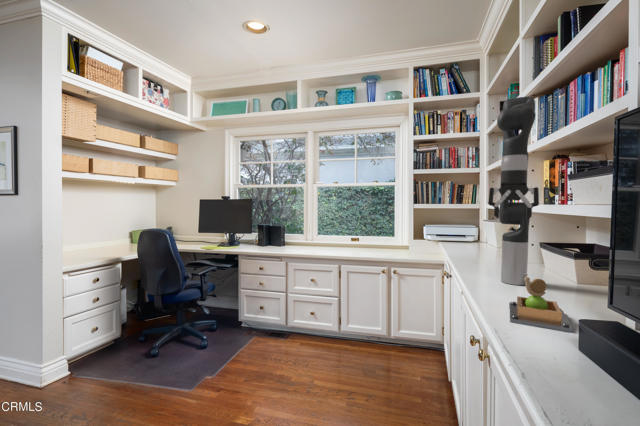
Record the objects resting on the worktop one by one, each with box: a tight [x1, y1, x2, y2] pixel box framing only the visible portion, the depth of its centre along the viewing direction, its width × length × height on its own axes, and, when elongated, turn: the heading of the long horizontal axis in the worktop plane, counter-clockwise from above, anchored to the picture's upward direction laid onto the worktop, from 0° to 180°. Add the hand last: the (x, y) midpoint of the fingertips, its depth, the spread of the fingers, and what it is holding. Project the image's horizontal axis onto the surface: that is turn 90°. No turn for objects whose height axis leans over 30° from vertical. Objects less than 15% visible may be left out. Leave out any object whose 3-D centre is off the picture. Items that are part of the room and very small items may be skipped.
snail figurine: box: [524, 273, 548, 310], centre depth 94 cm, size 5×6×12 cm
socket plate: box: [508, 296, 573, 333], centre depth 94 cm, size 16×14×4 cm
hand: (512, 218), depth 107 cm, fingers open, 8 cm apart
